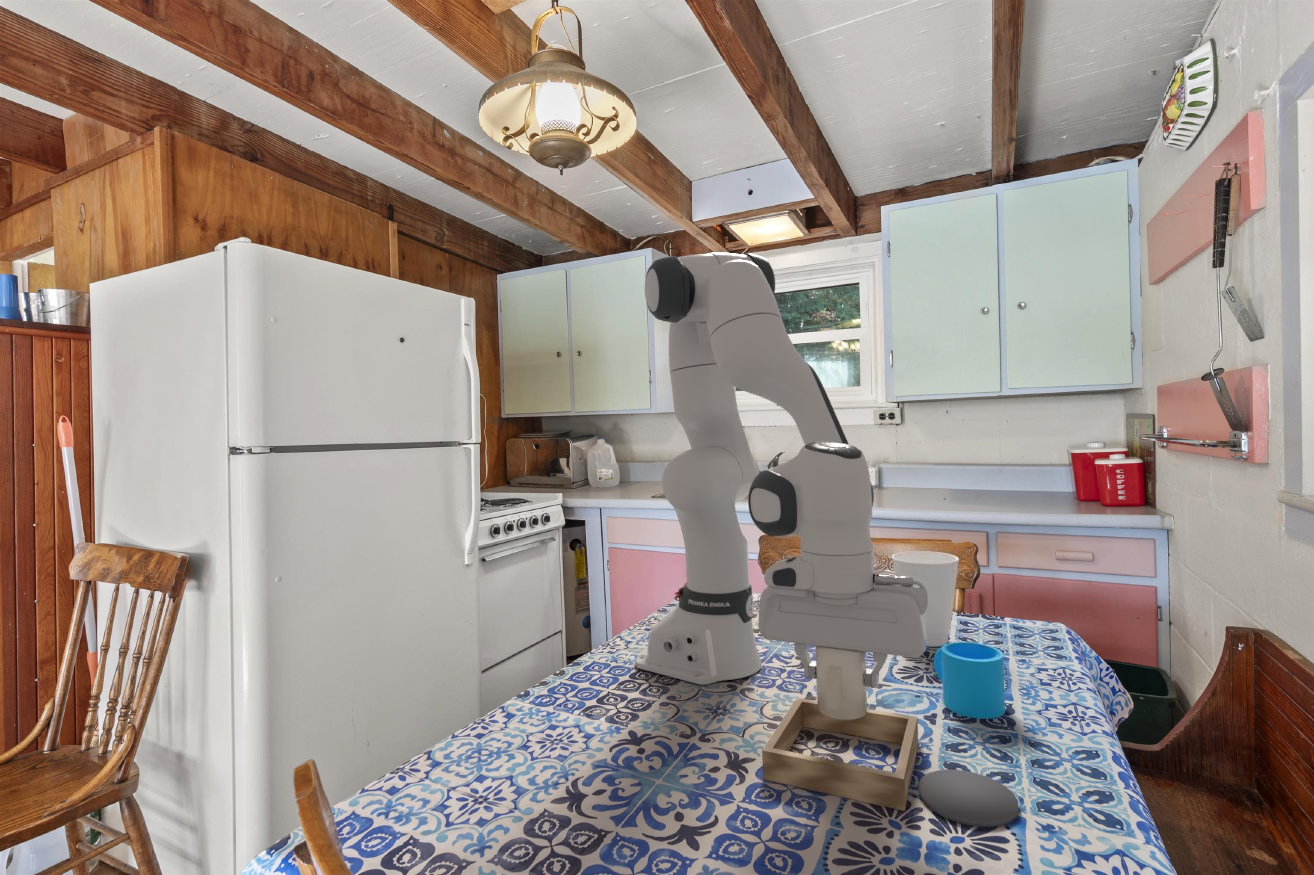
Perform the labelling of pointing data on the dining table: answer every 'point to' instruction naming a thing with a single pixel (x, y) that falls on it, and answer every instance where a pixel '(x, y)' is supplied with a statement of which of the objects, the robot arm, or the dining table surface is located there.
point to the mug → (972, 679)
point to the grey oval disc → (968, 798)
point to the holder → (841, 775)
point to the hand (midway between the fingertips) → (840, 681)
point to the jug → (841, 683)
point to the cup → (932, 588)
